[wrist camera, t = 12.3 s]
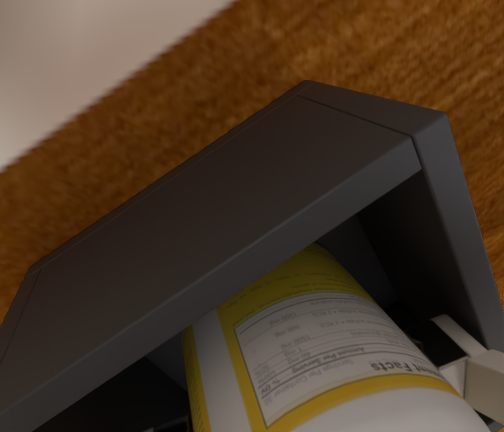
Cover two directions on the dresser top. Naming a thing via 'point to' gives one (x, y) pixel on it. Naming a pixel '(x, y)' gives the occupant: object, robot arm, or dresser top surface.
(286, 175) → the bin
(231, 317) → the pill bottle
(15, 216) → the dresser top surface
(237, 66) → the dresser top surface
